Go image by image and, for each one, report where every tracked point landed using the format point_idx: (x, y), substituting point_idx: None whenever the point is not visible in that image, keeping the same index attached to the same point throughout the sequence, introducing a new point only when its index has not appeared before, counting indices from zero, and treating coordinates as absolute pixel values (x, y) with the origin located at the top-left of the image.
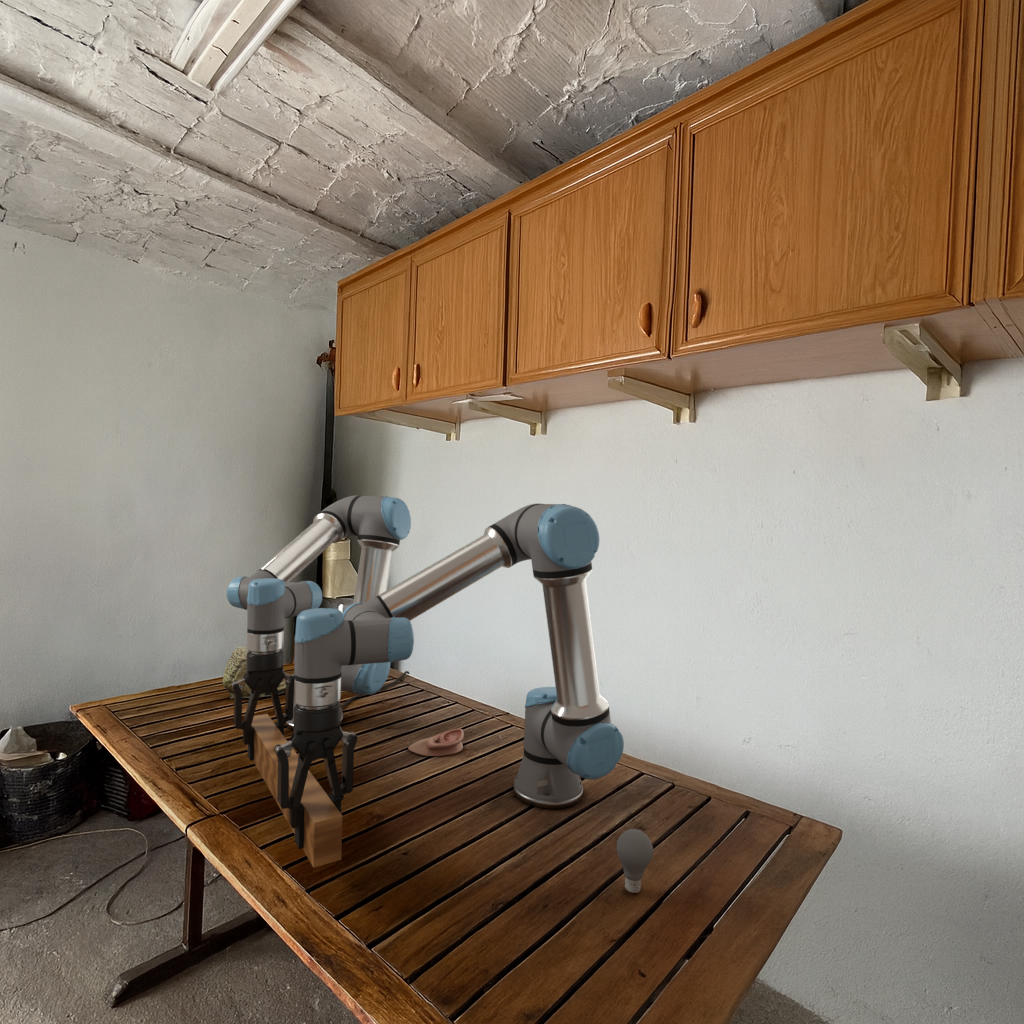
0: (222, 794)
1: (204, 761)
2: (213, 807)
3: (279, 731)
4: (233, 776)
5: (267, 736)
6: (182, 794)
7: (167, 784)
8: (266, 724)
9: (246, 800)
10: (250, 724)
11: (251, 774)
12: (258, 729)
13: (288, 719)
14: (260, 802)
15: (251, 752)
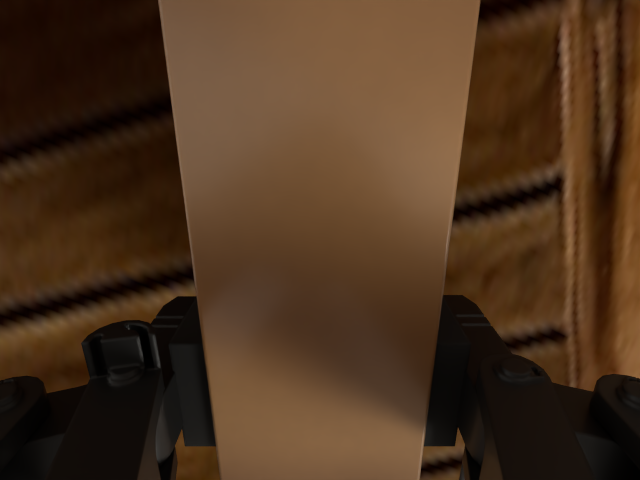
0: (493, 182)
1: (460, 468)
2: (567, 69)
3: (187, 140)
4: None
5: (373, 21)
6: (619, 255)
7: (628, 357)
8: (292, 411)
9: None
10: (500, 399)
11: None
12: (404, 319)
13: (37, 387)
14: None
15: None
